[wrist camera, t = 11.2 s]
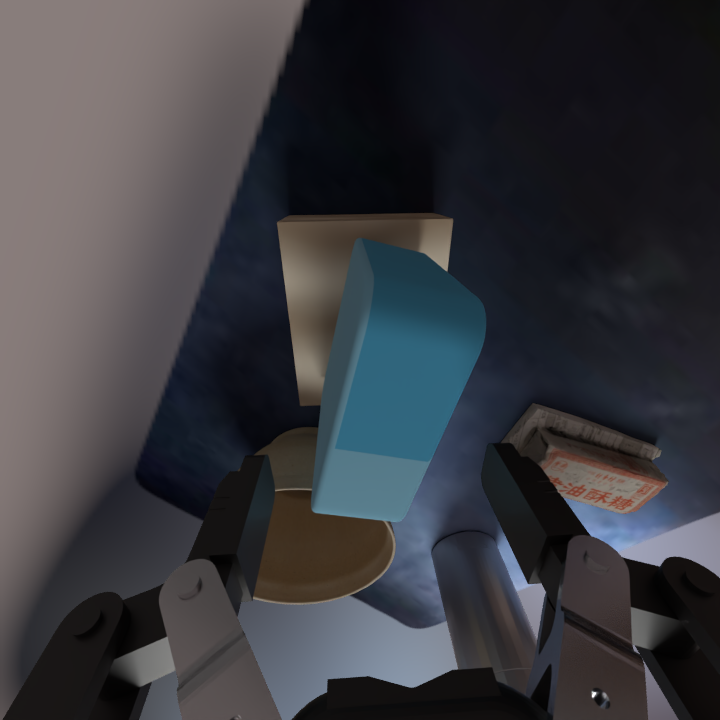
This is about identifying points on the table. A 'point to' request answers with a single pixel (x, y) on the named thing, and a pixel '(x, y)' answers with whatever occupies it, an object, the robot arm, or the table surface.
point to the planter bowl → (314, 535)
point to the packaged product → (588, 459)
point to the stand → (339, 275)
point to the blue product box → (391, 380)
